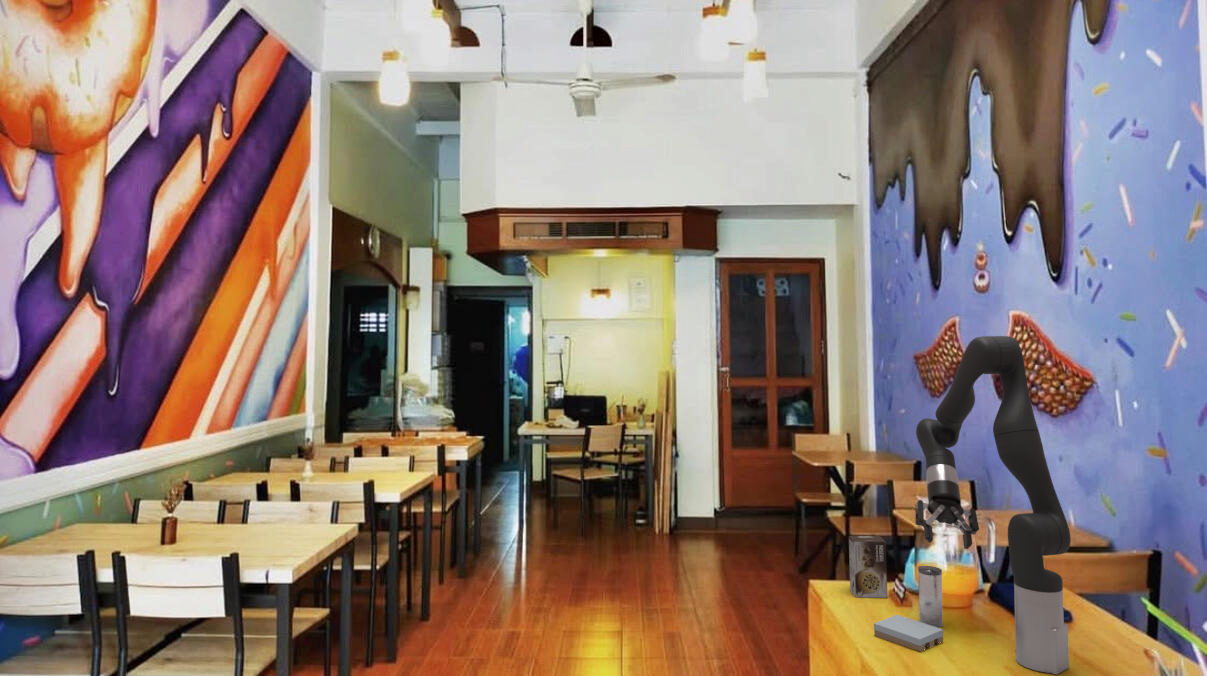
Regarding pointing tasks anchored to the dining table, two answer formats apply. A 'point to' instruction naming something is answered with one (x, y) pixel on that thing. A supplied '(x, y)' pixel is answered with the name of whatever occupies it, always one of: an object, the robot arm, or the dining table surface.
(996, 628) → the dining table surface
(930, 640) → the block
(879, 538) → the coffee box
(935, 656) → the dining table surface
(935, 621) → the canister
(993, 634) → the dining table surface
